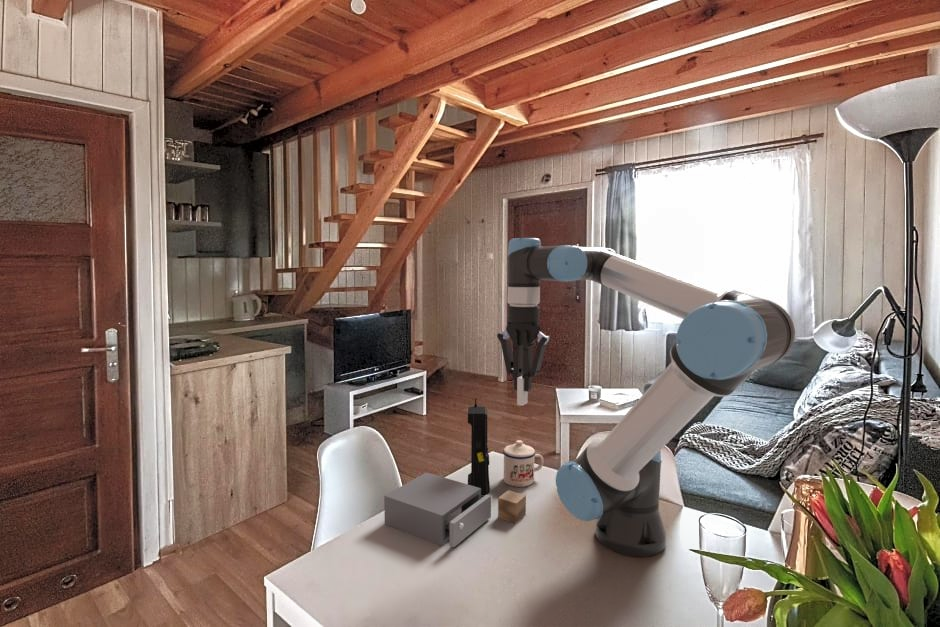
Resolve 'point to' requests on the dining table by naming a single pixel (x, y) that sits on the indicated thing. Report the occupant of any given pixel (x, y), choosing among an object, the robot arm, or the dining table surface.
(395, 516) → the gray drawer box
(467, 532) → the pull-out drawer
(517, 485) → the teacup with lid
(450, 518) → the white domed disc
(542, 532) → the dining table surface
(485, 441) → the portable radio
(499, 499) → the brown block
